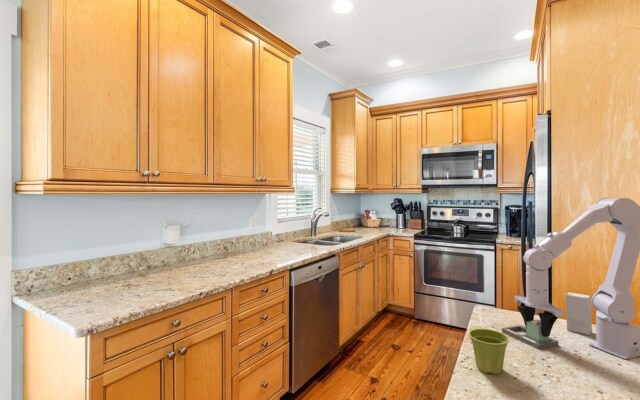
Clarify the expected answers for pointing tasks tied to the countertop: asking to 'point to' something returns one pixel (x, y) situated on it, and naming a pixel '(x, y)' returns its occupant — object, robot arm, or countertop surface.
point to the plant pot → (489, 349)
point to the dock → (526, 340)
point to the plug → (536, 331)
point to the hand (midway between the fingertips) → (537, 332)
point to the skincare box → (579, 313)
